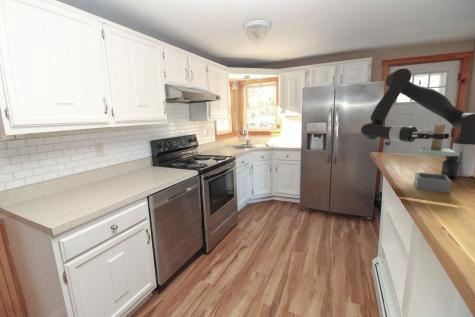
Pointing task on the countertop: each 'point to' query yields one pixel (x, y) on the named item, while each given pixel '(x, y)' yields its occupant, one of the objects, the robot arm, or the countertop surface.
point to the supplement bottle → (451, 167)
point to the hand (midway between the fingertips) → (446, 136)
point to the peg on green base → (437, 144)
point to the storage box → (432, 182)
